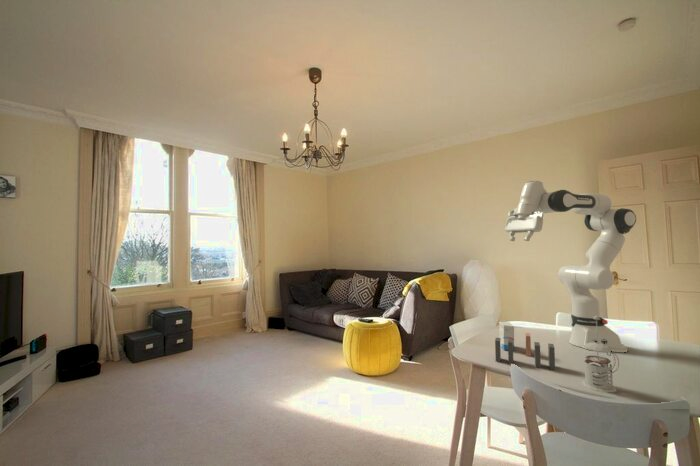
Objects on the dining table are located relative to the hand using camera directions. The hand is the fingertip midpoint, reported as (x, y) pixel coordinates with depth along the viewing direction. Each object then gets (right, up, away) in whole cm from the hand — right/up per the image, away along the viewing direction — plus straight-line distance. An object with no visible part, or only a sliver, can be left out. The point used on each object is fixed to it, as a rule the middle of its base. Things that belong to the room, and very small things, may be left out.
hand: (519, 240), depth 152 cm
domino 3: (+2, -52, -5) cm, 52 cm away
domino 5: (+3, -52, -20) cm, 55 cm away
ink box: (-4, -52, +4) cm, 53 cm away
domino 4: (-2, -52, -18) cm, 55 cm away
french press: (+10, -51, -37) cm, 64 cm away
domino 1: (-15, -52, -11) cm, 55 cm away
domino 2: (-11, -52, -13) cm, 55 cm away
